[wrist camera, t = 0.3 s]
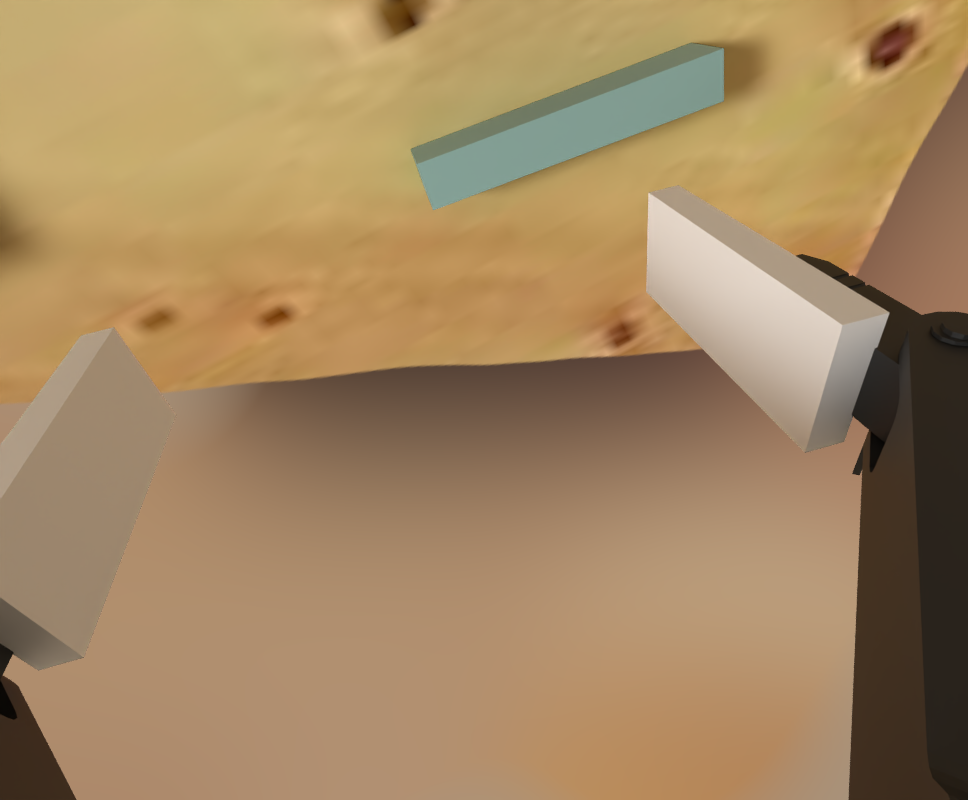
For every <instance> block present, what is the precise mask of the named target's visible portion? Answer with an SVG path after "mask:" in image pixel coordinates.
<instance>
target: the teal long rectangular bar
mask: <svg viewBox="0 0 968 800" xmlns="http://www.w3.org/2000/svg"><path fill="white" fill-rule="evenodd" d="M723 101H724V48H719V47H713V46H707V45H701V44H695V43H689V44H687V45H684V46H681V47H679V48H676V49H674V50H671V51H668V52H666V53H663V54H660V55H658V56H655V57H652V58H650V59H647V60H645V61H642V62H639V63H637V64H634V65H631V66H629V67H626V68H623V69H621V70H618V71H615V72H613V73H610V74H608V75H605V76H602V77H600V78H597V79H594V80H592V81H589V82H586V83H584V84H581V85H579V86H576V87H573V88H571V89H568V90H565V91H563V92H560V93H557V94H555V95H552V96H549V97H547V98H544V99H542V100H539V101H536V102H534V103H531V104H528V105H526V106H523V107H520V108H518V109H515V110H512V111H510V112H507V113H505V114H502V115H499V116H497V117H494V118H491V119H489V120H486V121H483V122H481V123H478V124H476V125H473V126H470V127H468V128H465V129H462V130H460V131H457V132H454V133H452V134H449V135H446V136H444V137H441V138H439V139H436V140H433V141H431V142H428V143H425V144H423V145H420V146H417V147H415V148H412V149H411V152H412V154H413V157H414V160H415V163H416V166H417V168H418V171H419V174H420V177H421V179H422V182H423V185H424V188H425V191H426V193H427V196H428V198H429V201H430V203H431V206H432V208H433V210H435V209H438V208H441V207H443V206H446V205H449V204H451V203H454V202H457V201H459V200H462V199H465V198H467V197H470V196H473V195H475V194H478V193H481V192H483V191H486V190H489V189H491V188H494V187H497V186H499V185H502V184H505V183H507V182H510V181H513V180H515V179H518V178H521V177H523V176H526V175H529V174H531V173H534V172H537V171H539V170H542V169H544V168H547V167H550V166H552V165H555V164H558V163H560V162H563V161H566V160H568V159H571V158H574V157H576V156H579V155H582V154H584V153H587V152H590V151H592V150H595V149H598V148H600V147H603V146H606V145H608V144H611V143H614V142H616V141H619V140H622V139H624V138H627V137H630V136H632V135H635V134H638V133H640V132H643V131H646V130H648V129H651V128H654V127H656V126H659V125H662V124H664V123H667V122H669V121H672V120H675V119H677V118H680V117H683V116H685V115H688V114H691V113H693V112H696V111H699V110H701V109H704V108H707V107H709V106H712V105H715V104H717V103H720V102H723Z"/></svg>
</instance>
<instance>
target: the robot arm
mask: <svg viewBox="0 0 968 800" xmlns="http://www.w3.org/2000/svg"><path fill="white" fill-rule="evenodd" d="M646 292H647V293H648V294H649V295H650V296H651V297H652V298H653V299H654V300H655V301H656V302H657V303H658V304H659V305H660V306H661V307H662V308H663V309H664V310H665V311H666V312H667V313H668V314H669V315H670V316H671V317H672V318H673V319H674V320H675V321H676V322H677V323H678V324H679V325H680V326H681V327H682V328H683V330H684V331H685V332H686V333H687V334H688V335H689V336H690V337H691V338H692V339H693V340H694V341H695V342H696V343H697V344H698V345H699V346H700V347H701V348H702V349H703V350H704V351H705V352H706V353H707V354H708V355H709V356H710V357H711V358H712V359H713V360H714V361H715V362H716V363H717V364H718V365H719V366H720V367H721V368H722V369H723V370H724V371H725V372H726V373H727V374H728V375H729V376H730V377H731V378H732V379H733V380H734V381H735V382H736V383H737V384H738V385H739V386H740V387H741V388H742V389H743V390H744V391H745V392H746V393H747V394H748V395H749V396H750V397H751V398H752V399H753V400H754V402H755V403H756V404H757V405H758V406H759V407H760V408H761V409H762V410H763V411H764V412H766V414H767V415H768V416H769V417H770V418H771V419H772V420H773V421H774V422H775V423H776V424H777V425H778V426H779V427H780V428H781V429H782V430H783V431H784V432H785V433H786V434H787V435H788V436H789V437H790V438H791V439H792V440H793V441H794V442H795V443H796V444H797V445H798V446H799V447H800V448H801V449H802V450H803V451H804V452H805V453H806V452H809V451H813V450H817V449H820V448H824V447H827V446H831V445H834V444H838V443H841V442H844V440H845V438H846V435H847V432H848V429H849V426H850V423H851V421H852V418H853V416H854V417H855V418H856V419H857V420H858V421H859V422H861V423H862V424H863V425H864V426H865V427H867V428H868V429H869V432H868V434H867V437H866V439H865V442H864V445H863V447H862V450H861V453H860V455H859V458H858V460H857V463H856V465H855V468H854V470H853V474H856V475H860V473H861V471H862V490H861V491H862V492H861V493H862V494H861V515H860V539H859V563H858V588H857V612H856V635H855V659H854V662H855V663H854V683H853V709H852V731H851V732H852V733H851V755H850V779H849V780H850V782H849V800H968V314H966V313H961V312H934V313H929V314H924V315H921V314H919V313H917V312H915V311H914V310H912V309H910V308H909V307H907V306H905V305H903V304H902V303H900V302H898V301H896V300H894V299H893V298H891V297H889V296H888V295H886V294H884V293H883V292H881V291H879V290H877V289H876V288H874V287H872V286H870V285H867V286H866V285H865V282H863V281H862V280H860V279H858V278H856V277H855V276H853V275H852V276H849V273H848V272H846V271H844V270H842V269H841V268H839V267H837V266H835V265H834V264H832V263H830V262H828V261H825V260H821V259H817V258H814V257H810V256H807V255H803V254H801V255H797V256H795V255H793V254H792V253H790V252H788V251H787V250H785V249H783V248H782V247H780V246H778V245H777V244H775V243H773V242H772V241H770V240H768V239H767V238H765V237H763V236H762V235H760V234H758V233H757V232H755V231H753V230H752V229H750V228H748V227H747V226H745V225H743V224H742V223H740V222H738V221H737V220H735V219H733V218H732V217H730V216H728V215H727V214H725V213H723V212H722V211H720V210H718V209H717V208H715V207H713V206H712V205H710V204H708V203H707V202H705V201H703V200H702V199H700V198H698V197H697V196H695V195H693V194H692V193H690V192H689V191H687V190H685V189H684V188H682V187H680V186H679V185H677V186H673V187H669V188H665V189H661V190H657V191H653V192H649V200H648V243H647V286H646ZM175 417H176V414H175V412H174V411H173V410H172V408H171V407H170V406H169V404H168V403H167V401H166V400H165V398H164V397H163V396H162V394H161V393H160V391H159V390H158V388H157V387H156V386H155V384H154V383H153V381H152V380H151V379H150V377H149V376H148V374H147V373H146V372H145V370H144V369H143V367H142V366H141V365H140V363H139V362H138V360H137V359H136V358H135V356H134V355H133V353H132V352H131V351H130V349H129V348H128V346H127V345H126V344H125V342H124V341H123V339H122V338H121V336H120V335H119V334H118V332H117V331H116V329H115V328H114V327H113V328H109V329H105V330H101V331H97V332H94V333H90V334H86V335H82V336H80V338H79V339H78V340H77V342H76V343H75V344H74V346H73V347H72V348H71V350H70V351H69V352H68V354H67V355H66V357H65V358H64V359H63V361H62V362H61V363H60V365H59V366H58V367H57V369H56V370H55V371H54V373H53V374H52V376H51V377H50V378H49V380H48V381H47V382H46V384H45V385H44V386H43V388H42V389H41V390H40V392H39V393H38V394H37V396H36V397H35V399H34V400H33V401H32V403H31V404H30V405H29V407H28V408H27V409H26V411H25V412H24V413H23V415H22V417H21V418H20V419H19V420H18V422H17V423H16V424H15V426H14V427H13V428H12V430H11V431H10V432H9V434H8V435H7V436H6V438H5V439H4V441H3V442H2V443H1V445H0V800H76V798H75V796H74V794H73V792H72V790H71V788H70V786H69V784H68V782H67V780H66V778H65V777H64V775H63V773H62V771H61V769H60V767H59V765H58V763H57V761H56V759H55V757H54V755H53V753H52V751H51V749H50V747H49V745H48V743H47V742H46V739H45V738H44V736H43V734H42V732H41V730H40V728H39V726H38V724H37V722H36V720H35V718H34V716H33V714H32V713H31V710H30V709H29V706H28V704H27V703H26V701H25V699H24V697H23V695H22V693H21V691H20V689H19V687H18V686H17V685H16V684H15V683H14V682H12V681H11V680H10V679H8V678H6V677H5V676H3V673H4V671H5V669H6V667H7V665H8V663H9V660H10V659H11V657H12V655H13V654H14V655H15V656H17V657H18V658H20V659H21V660H23V661H24V662H26V663H28V664H29V665H31V666H32V667H34V668H35V669H37V670H42V669H46V668H49V667H52V666H56V665H59V664H63V663H66V662H70V661H74V660H77V659H81V658H84V656H85V653H86V651H87V648H88V645H89V643H90V640H91V638H92V635H93V632H94V630H95V627H96V624H97V622H98V619H99V617H100V614H101V611H102V609H103V606H104V603H105V601H106V598H107V596H108V593H109V590H110V588H111V585H112V582H113V580H114V577H115V575H116V572H117V569H118V567H119V564H120V562H121V559H122V556H123V554H124V551H125V548H126V546H127V543H128V540H129V538H130V535H131V533H132V530H133V527H134V525H135V522H136V519H137V517H138V514H139V512H140V509H141V507H142V504H143V501H144V499H145V496H146V494H147V491H148V488H149V486H150V483H151V480H152V478H153V475H154V473H155V470H156V467H157V465H158V462H159V459H160V457H161V454H162V451H163V449H164V446H165V444H166V441H167V439H168V436H169V433H170V431H171V428H172V425H173V423H174V420H175Z"/></svg>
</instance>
